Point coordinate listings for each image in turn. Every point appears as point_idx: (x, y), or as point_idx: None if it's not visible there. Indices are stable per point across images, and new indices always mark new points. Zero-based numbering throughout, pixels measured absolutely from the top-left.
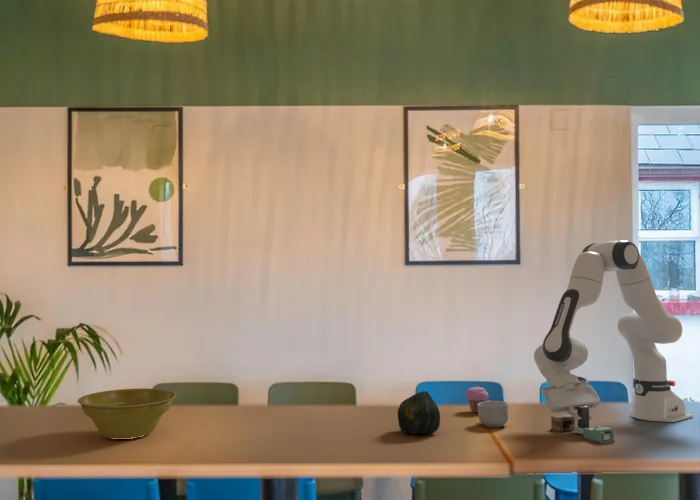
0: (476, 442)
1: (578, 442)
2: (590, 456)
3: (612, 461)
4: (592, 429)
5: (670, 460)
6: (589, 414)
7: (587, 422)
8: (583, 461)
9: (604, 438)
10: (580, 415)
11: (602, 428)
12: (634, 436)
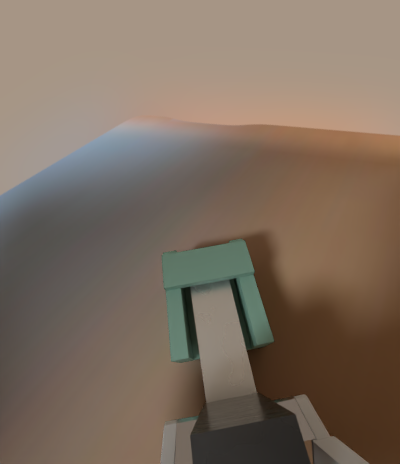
0: None
1: (314, 292)
2: (331, 161)
3: (292, 131)
4: (216, 344)
5: (168, 124)
6: (179, 443)
7: (217, 404)
8: (363, 137)
9: None
10: None
11: (204, 266)
12: (40, 318)
